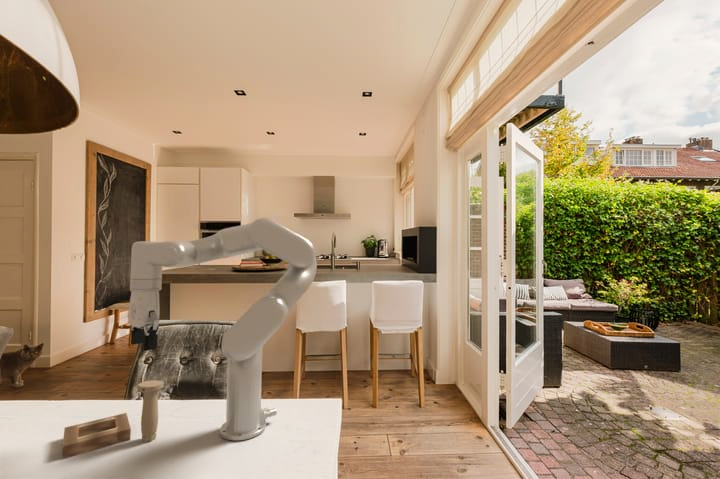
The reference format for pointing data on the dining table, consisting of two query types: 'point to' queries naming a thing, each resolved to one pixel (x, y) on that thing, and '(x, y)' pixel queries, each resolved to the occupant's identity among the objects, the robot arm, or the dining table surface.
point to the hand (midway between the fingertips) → (143, 346)
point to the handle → (150, 408)
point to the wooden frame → (95, 435)
